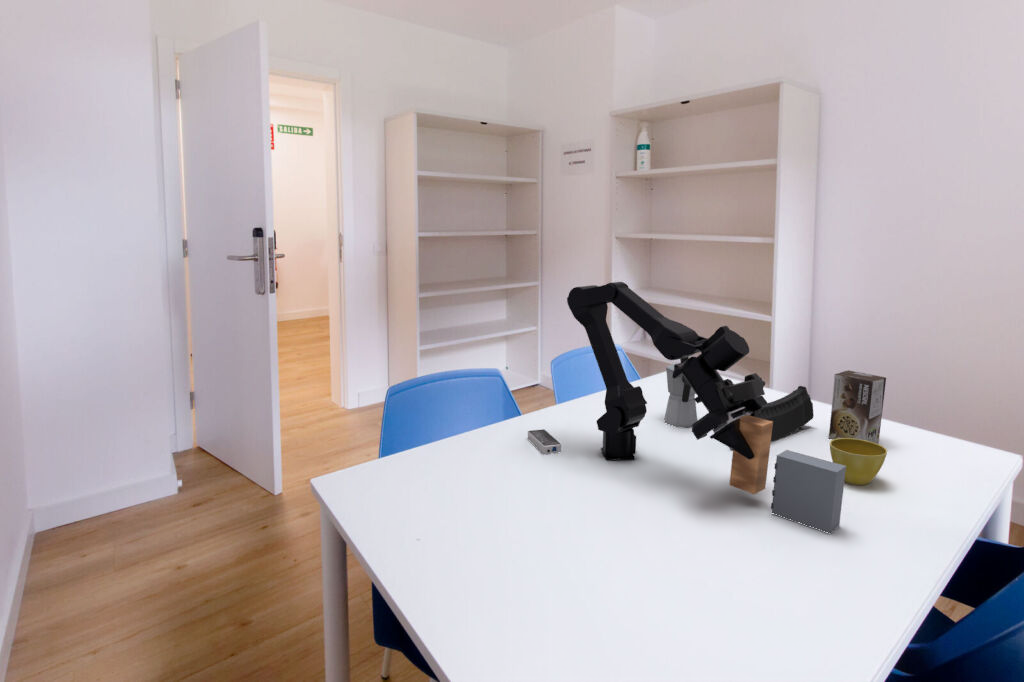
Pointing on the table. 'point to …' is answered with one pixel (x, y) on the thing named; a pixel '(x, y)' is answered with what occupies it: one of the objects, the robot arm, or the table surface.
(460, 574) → the table surface
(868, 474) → the yellow bowl
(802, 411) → the magazine
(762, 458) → the wooden post
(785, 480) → the grey flat block
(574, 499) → the table surface
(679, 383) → the coffee maker
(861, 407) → the coffee box
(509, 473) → the table surface
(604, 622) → the table surface
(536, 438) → the multiport hub
